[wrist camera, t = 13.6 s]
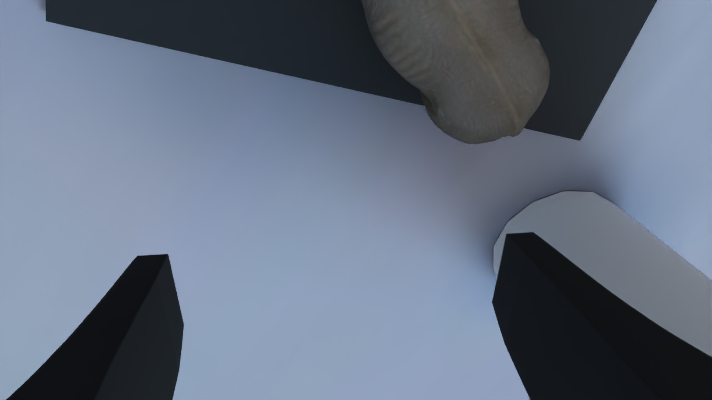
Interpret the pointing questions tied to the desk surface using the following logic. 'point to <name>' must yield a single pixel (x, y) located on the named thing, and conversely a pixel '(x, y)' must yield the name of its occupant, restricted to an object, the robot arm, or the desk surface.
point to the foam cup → (622, 260)
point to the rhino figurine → (464, 62)
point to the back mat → (371, 43)
